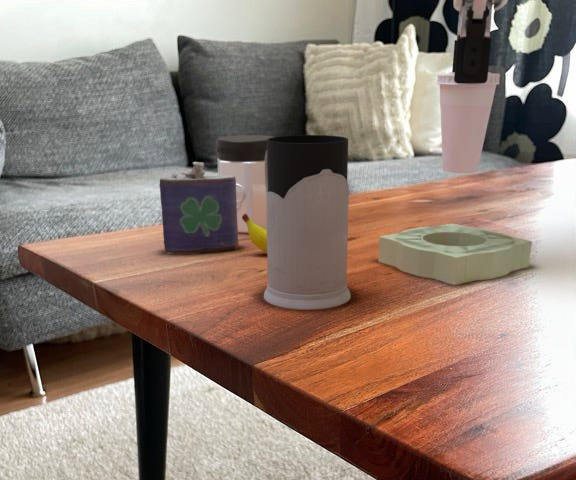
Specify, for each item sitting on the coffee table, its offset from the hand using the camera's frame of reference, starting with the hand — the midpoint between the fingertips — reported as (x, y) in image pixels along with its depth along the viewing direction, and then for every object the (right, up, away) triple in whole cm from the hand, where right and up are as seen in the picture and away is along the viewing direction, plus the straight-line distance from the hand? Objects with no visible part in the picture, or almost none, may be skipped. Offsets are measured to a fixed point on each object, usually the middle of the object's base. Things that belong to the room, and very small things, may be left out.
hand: (468, 80), depth 75 cm
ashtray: (0, -18, +8) cm, 20 cm away
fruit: (-19, -16, +13) cm, 28 cm away
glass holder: (-18, -22, 0) cm, 28 cm away
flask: (-29, -15, +15) cm, 36 cm away
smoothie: (0, -8, +4) cm, 9 cm away
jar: (-24, -10, +27) cm, 38 cm away
